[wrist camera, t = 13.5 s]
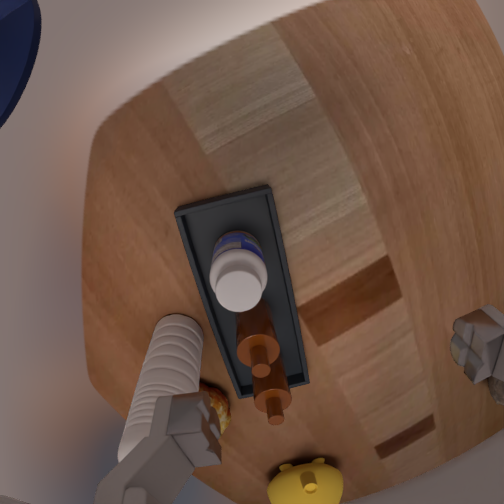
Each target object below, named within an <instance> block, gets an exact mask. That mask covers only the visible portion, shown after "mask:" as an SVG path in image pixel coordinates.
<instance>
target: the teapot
mask: <svg viewBox="0 0 504 504" xmlns="http://www.w3.org/2000/svg"><path fill="white" fill-rule="evenodd" d="M324 461H325V459H324V458H317V459H315V460H313V461H312V463H308V464H302V465H297V466H294V467H293V466H292V465H291V464H283V465H281V466H280V467H279V469H280V470H281V471H282V472H280V473H279V474H277V475H276V476H275V477H274V478H273V480H272V481H271V482H270V483H269V485H268V488H267V493H268V497H269V499H270V502H271V504H339V501H340V499H341V496H342V492H343V477H342V474H341V472H340V471H339V470H338V469H336V468H334V467H332V466H330V465H327V464H324Z"/></svg>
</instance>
